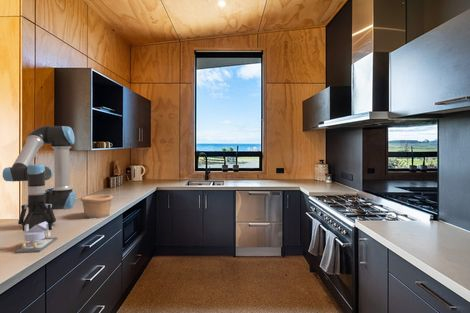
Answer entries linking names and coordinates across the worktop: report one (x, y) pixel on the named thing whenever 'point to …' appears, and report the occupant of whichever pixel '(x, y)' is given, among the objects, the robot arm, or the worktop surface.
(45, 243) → the pin plate
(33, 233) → the wedge on round base
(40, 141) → the robot arm
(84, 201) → the pottery
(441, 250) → the worktop surface
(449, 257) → the worktop surface
